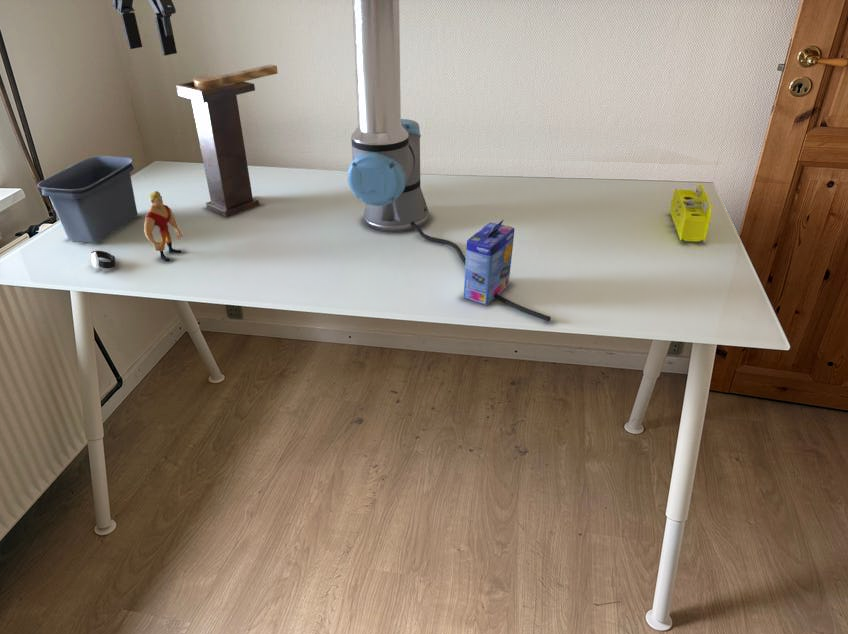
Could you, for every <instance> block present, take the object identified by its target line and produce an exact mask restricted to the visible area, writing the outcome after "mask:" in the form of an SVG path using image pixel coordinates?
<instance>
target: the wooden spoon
mask: <svg viewBox="0 0 848 634" xmlns="http://www.w3.org/2000/svg"><path fill="white" fill-rule="evenodd" d="M273 75H278V66H277V65H275V64H268V65H267V64H266V65H261V66H257V67H254V68H249V69H244V70H240V71H235V72H230V73H226V74H221V75H220V74H204V75H200V76H195V77H193V79H192V81H194V86H195V88H197V89H201V90H204V89H208V88H213V87H217V86H221V85H226V84H230V83H239V82H243V81H244V82H249V81H251V80H255V79H256V80H257V79H261V78H265V77H269V76H273Z"/></svg>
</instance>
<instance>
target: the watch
mask: <svg viewBox="0 0 848 634" xmlns="http://www.w3.org/2000/svg"><path fill="white" fill-rule="evenodd" d="M90 254H91V255H90V262H91V265H92V267H93V268H95V269H97V268H101V269H104V270H105V269H108V270H110V269H113V268H115V267H116V257H115V255H114V254H112V253H110V252H107V251H104V250H92V251H91V253H90ZM101 259H105V260H108V261H105V260H101Z"/></svg>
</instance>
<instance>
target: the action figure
mask: <svg viewBox="0 0 848 634" xmlns="http://www.w3.org/2000/svg"><path fill="white" fill-rule="evenodd" d="M148 197H149V199H150V203H151V206H150V207H149V209H148V212H147V214H146V215H145V219H144V229H143V231H144V235H145V237H146V238H147V240H148V241H149V242H150V243H151V244H152V245H153V248H154V250H155V251H157V252H159V253H160V259H161V260H162V261H164V262H170V258H169V257H167V256H166V255H165V253H164V252H165V251H166V248H165V246H166V245H167V248H168V253H169V254H173V253H177V254H181V253H182V250H181V249H175V248H173V241H172V237H171V232H170V230H169V225H170V226H171V227H172V228H173V229H174V232H175V233H176V234H177V237H176V240H182V239H183V238H184V237H183V235H182V232H181V230H180V229H179V226H178V223H177V219H176V218H175V216H174V214H173V212H172V209H171V207H169V206H168V205H167V204H166V205H165V204H164V202H163V196H162V195H161V193H160V191H159V190H156V191H154V192H151V193H150V194H149V195H148ZM155 227H158V233H159V235H160V239H161V242H160V241H156V239H155V237H154V235H153V232H154V229H155Z"/></svg>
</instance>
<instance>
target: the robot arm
mask: <svg viewBox="0 0 848 634" xmlns="http://www.w3.org/2000/svg"><path fill="white" fill-rule="evenodd" d="M133 2H134V0H111V4H112V5H111V7H112V8H113V10H116V11H118V14H120V17H121V22H122V26H123V30H124V34H125V38H126V42H127V47H128V50H135V49H140V48H143V43H142V38H141V35H140V30H139V26H138V21H137V17H136V13H135V11H136V10H135V9H134V7H133ZM147 2H148V3H149V4H150V7H151V8H152V10H153V11H154V13H155V14H154V17H153V18H154V19H155V24H156V29H157V34H158V38H159V43H160V48H161V52H162V56H165V57H166V56H170V55H176V54H178V51H177V46H176V41H175V36H174V31H173V26H172V25H173V24H172V22H171V17H172V15H173V14H176V11H177V10H176V8H175V5H174V2H173V0H147ZM351 5H352V21H353V22H352V23H353V45H354V46H353V47H354V63H355V64H354V65H355V66H354V67H355V88H356V103H357V104H356V107H357V110H356V111H357V127H356V129H355V130H354V131H353V132H352V133H351V135H350V139H351V157H352V161H351V162H350V164H349V167H348V171H347V182H348V187H349V188H350V190H351V192H352V193H353V195H354V196H355V197H356V198H357V199H359V200H360V202H363V203H365V204H366V206H365V209H364V211H363V220H364V224H365V225H366V226H367V227H368V228H370V229H372V230H375V231H379V232H384V233H402V232H410V231H414V230H416V232H417V233H418V234H419V236H421V237H422V238H424V239H425V240H427V241H430V242H434V243H438V244H444V245H448V246H449V247H452V248H453V249H454V250H455V251H456V252H457V254H458V256H459V259H460V260H461V261H462V263H463V264H464V265H465V263H466V255H465V254H464V253H463V251H462V249H461V248H460V246H459V245H458V244H456V243H454V242H453V241H451V240H448V239H443V238H438V237H434V236H430V235H428V234H425V232H424V231H423V229H421V228H422V227H423V226H425V225H426V224H427V223H428V222H429V219H430V218H429V217H430V215H429V214H430V213H429V208H428V206H427V202H426V199H425V196H424V193H423V190H422V187H421V136H422V134H421V130H420V129H421V128H420V125H419V123H418V122H417V121H416V120H412V119H407V118H402V105H401V104H402V103H401V101H402V99H401V97H402V96H401V91H402V90H401V28H400V27H401V25H400V23H401V22H400V21H401V19H400V0H351ZM494 297H495V298H494V299H496V300H498V302H499V301H500V302H501V303H502V304H505V305H507V306H509V307H511V308H514V309H515V310H517V311H520V312H522V313H525V314H526V315H530V316H532V317H535V318H538V319H540V320H543V321H546V322H550V321H551V319H552V318H551V316H548V315H546V314H544V313H541V312H539V311H535V310H533V309H530V308H528V307H525V306H523V305H520V304H518V303H516V302H513V301H511V300H510V299H507V298H505V297H503V296H502V295H500V294H499V295H498V294H497V293H496V294H495V296H494Z"/></svg>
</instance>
